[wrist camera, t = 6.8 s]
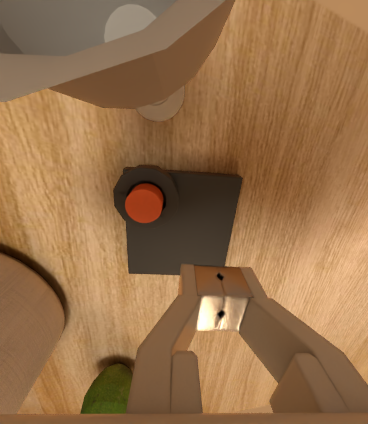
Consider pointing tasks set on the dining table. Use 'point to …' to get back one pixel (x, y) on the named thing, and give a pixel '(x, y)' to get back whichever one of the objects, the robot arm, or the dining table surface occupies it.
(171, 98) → the chalice
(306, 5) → the dining table surface
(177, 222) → the scale
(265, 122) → the dining table surface
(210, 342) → the dining table surface
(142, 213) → the button
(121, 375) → the avocado
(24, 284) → the planter
